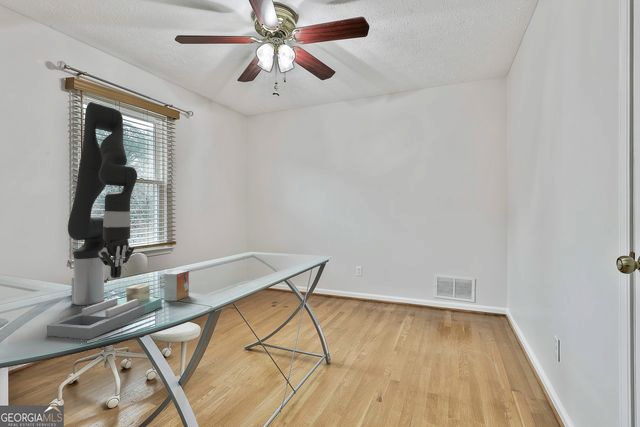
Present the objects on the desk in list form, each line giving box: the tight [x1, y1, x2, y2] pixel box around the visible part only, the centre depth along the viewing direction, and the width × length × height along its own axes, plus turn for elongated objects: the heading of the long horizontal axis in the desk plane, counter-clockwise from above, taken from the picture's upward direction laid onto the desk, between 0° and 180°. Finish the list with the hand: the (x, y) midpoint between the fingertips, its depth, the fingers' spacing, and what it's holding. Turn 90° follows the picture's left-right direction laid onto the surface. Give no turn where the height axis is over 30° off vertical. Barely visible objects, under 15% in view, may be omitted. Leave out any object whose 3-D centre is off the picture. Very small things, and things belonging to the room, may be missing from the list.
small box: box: [163, 269, 190, 302], centre depth 122 cm, size 8×6×10 cm
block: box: [125, 284, 151, 303], centre depth 109 cm, size 5×5×5 cm
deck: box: [46, 296, 163, 340], centre depth 98 cm, size 14×29×5 cm, turn 171°
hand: (115, 277), depth 101 cm, fingers closed
